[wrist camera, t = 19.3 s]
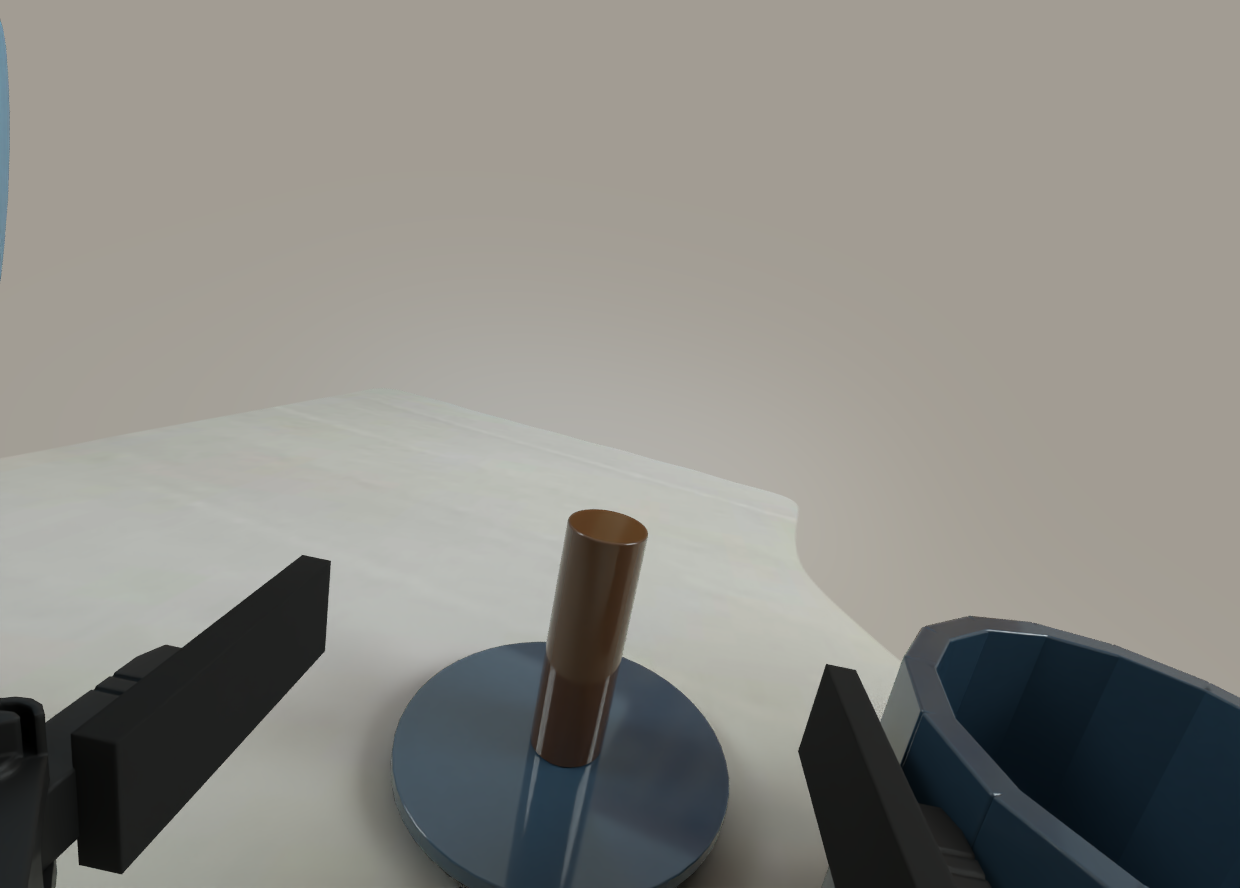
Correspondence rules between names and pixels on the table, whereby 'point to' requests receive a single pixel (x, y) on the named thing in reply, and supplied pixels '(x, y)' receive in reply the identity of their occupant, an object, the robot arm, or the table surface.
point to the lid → (563, 746)
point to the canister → (1069, 757)
